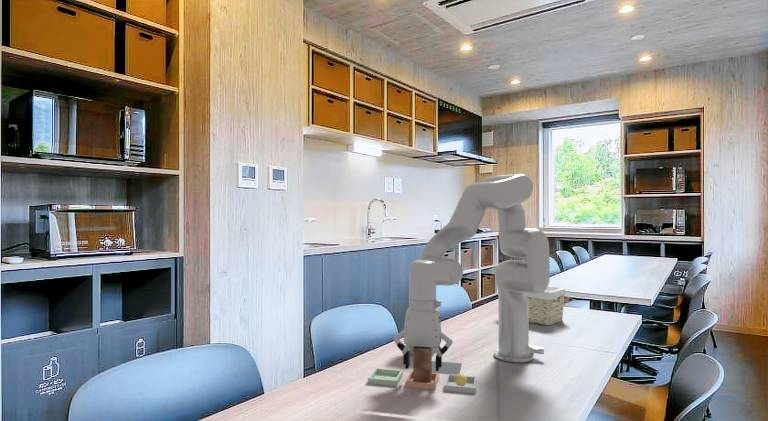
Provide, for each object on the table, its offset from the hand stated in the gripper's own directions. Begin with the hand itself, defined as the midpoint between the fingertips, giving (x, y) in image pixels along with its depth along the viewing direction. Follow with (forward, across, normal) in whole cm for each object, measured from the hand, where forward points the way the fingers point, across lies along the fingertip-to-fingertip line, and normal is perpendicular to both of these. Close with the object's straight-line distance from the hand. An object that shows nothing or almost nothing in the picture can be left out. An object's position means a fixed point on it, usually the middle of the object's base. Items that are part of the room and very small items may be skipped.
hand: (422, 367), depth 123 cm
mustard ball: (+2, -10, 0) cm, 11 cm away
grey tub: (+5, -10, 0) cm, 11 cm away
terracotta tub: (+5, 0, 0) cm, 5 cm away
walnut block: (+4, 0, 0) cm, 4 cm away
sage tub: (+5, +10, 0) cm, 11 cm away
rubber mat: (+5, -4, -13) cm, 15 cm away
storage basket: (+5, -36, -84) cm, 92 cm away
